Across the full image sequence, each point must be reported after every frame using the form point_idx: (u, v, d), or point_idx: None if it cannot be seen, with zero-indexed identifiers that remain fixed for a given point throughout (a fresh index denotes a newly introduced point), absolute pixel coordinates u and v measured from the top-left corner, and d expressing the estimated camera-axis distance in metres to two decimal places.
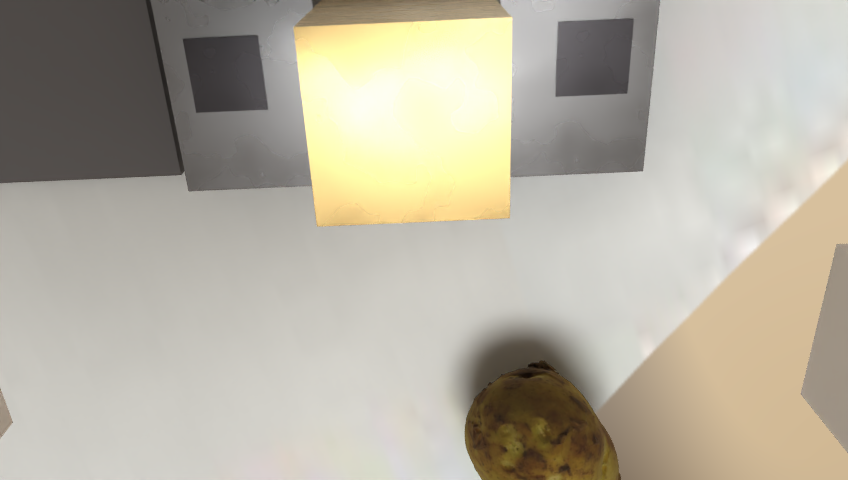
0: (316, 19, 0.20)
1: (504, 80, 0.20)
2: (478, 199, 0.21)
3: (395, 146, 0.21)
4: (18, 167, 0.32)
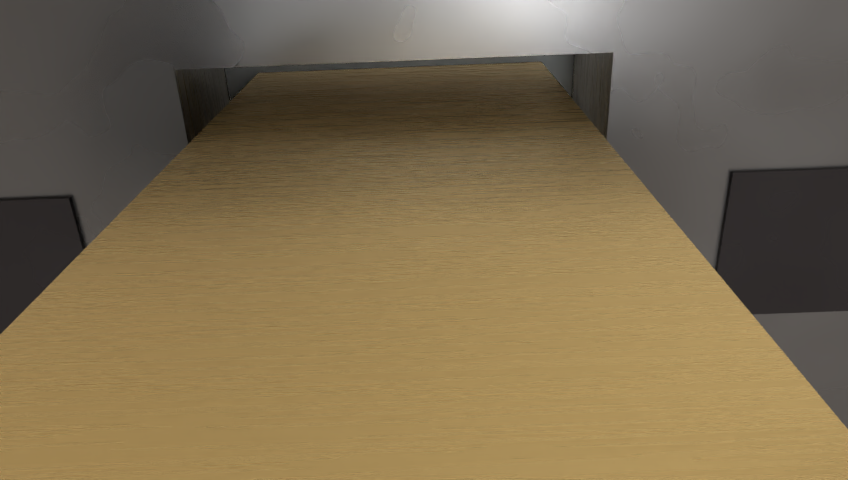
0: (19, 377, 0.05)
1: None
2: None
3: None
4: None
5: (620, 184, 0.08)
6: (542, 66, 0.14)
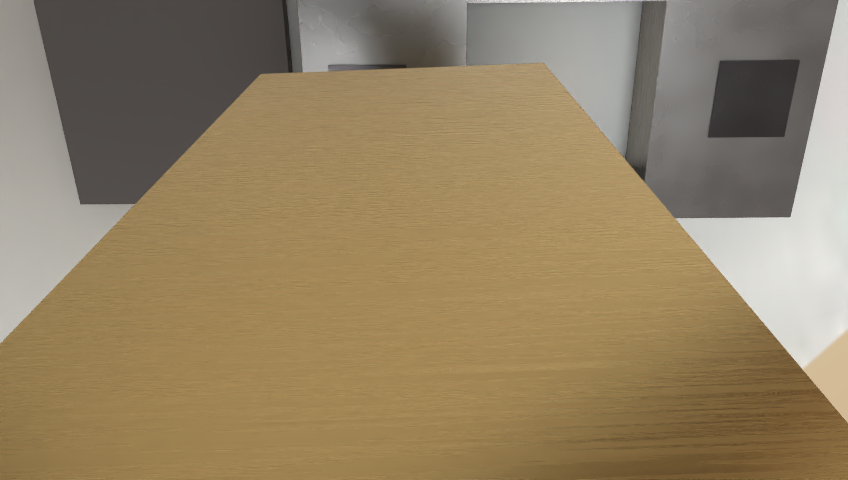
0: (26, 380, 0.05)
1: None
2: None
3: None
4: (133, 188, 0.31)
5: (624, 186, 0.08)
6: (545, 67, 0.14)
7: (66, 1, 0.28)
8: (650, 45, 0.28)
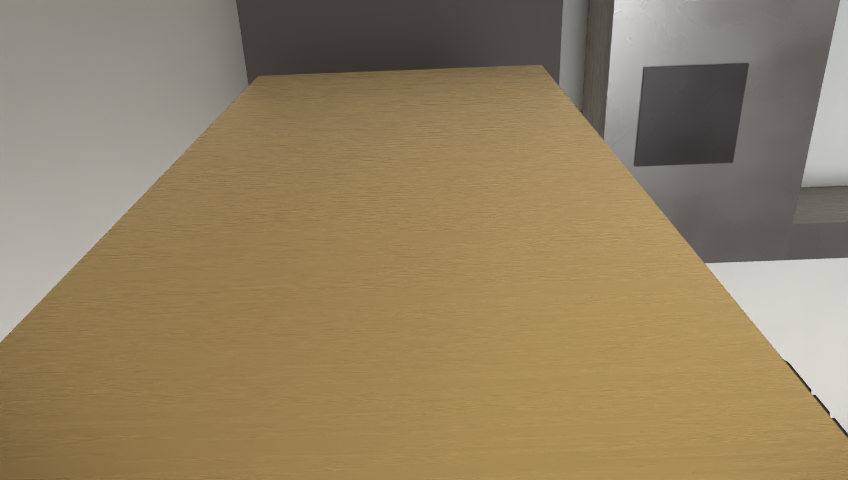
0: (18, 387, 0.05)
1: None
2: None
3: None
4: None
5: (620, 189, 0.08)
6: (542, 69, 0.14)
7: None
8: None
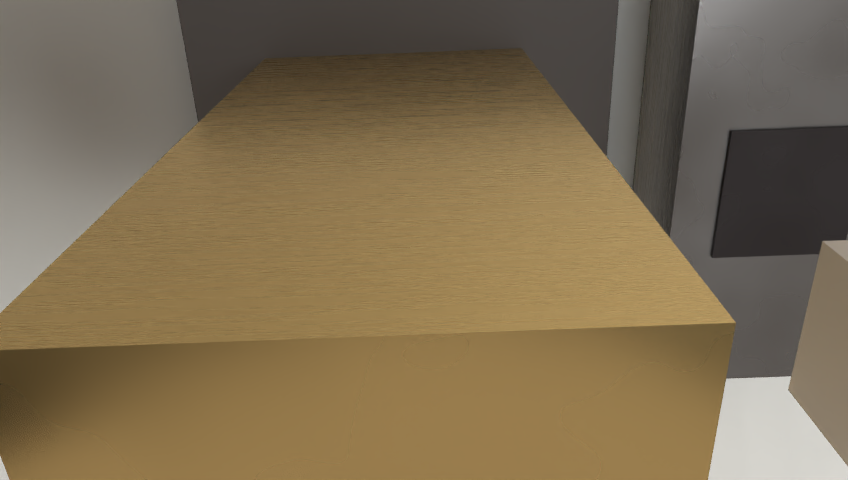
0: (91, 270, 0.07)
1: None
2: None
3: None
4: None
5: (574, 141, 0.10)
6: (522, 52, 0.16)
7: (239, 26, 0.16)
8: None
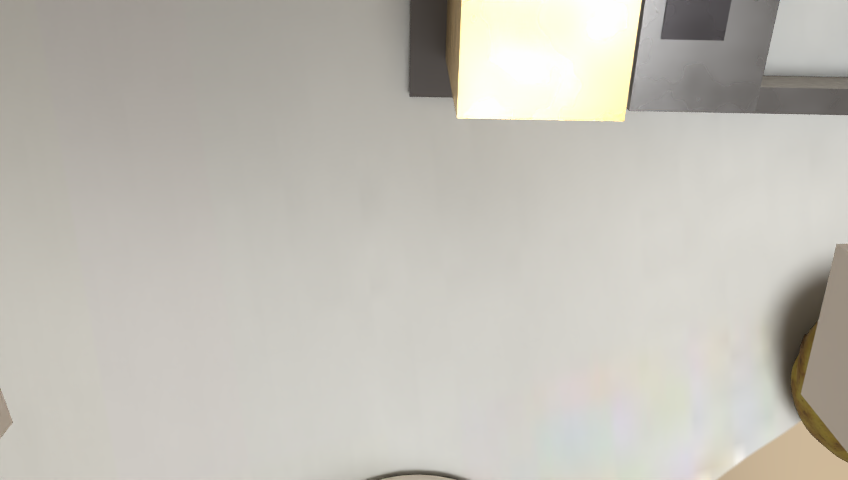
0: None
1: None
2: (599, 102, 0.25)
3: (535, 48, 0.24)
4: None
5: None
6: None
7: None
8: None
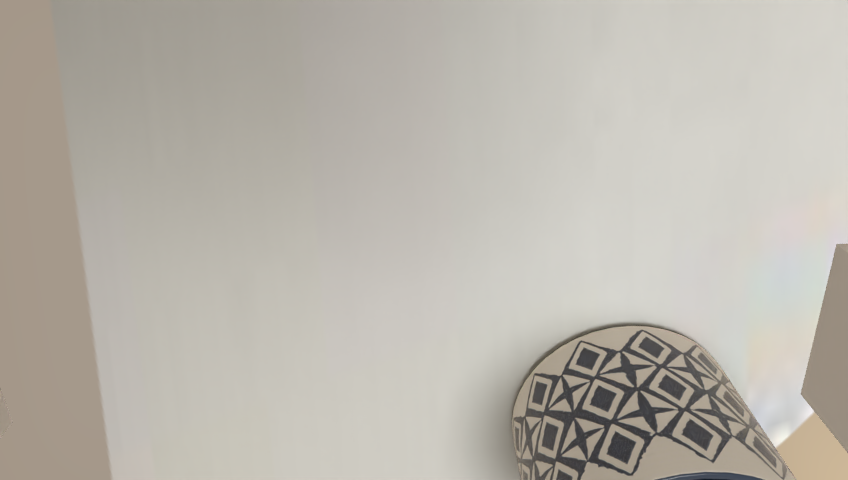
0: None
1: None
2: None
3: None
4: None
5: None
6: None
7: None
8: None
